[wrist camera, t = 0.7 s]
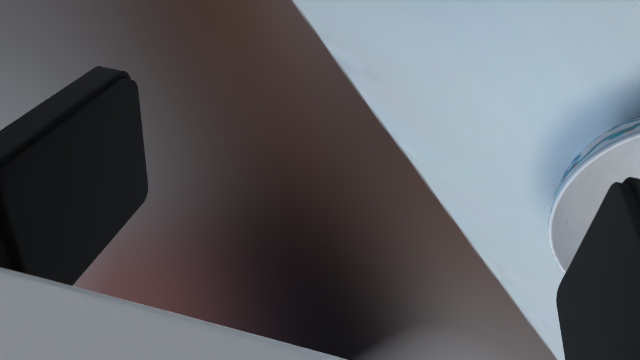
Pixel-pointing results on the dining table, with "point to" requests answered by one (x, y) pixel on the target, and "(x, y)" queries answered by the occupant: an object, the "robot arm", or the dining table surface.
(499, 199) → the dining table surface
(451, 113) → the dining table surface
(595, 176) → the chinaware
